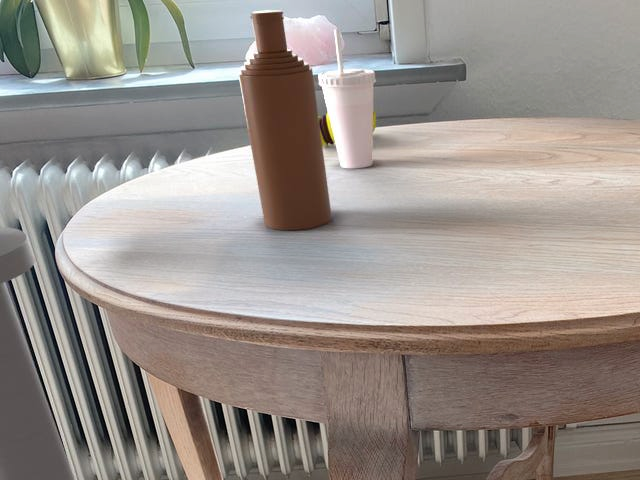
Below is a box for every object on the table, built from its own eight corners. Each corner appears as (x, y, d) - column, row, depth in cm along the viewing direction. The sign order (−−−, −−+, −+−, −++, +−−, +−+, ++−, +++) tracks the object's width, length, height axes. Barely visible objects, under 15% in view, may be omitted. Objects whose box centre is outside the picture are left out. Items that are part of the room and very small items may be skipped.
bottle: (262, 233, 82) (224, 17, 72) (266, 214, 87) (231, 10, 77) (331, 227, 82) (303, 12, 73) (332, 209, 88) (305, 6, 78)
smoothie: (321, 163, 105) (303, 29, 97) (371, 156, 107) (358, 24, 99) (340, 174, 100) (323, 33, 92) (392, 165, 102) (380, 28, 94)
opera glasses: (345, 139, 120) (334, 100, 117) (381, 131, 118) (370, 91, 115) (319, 155, 112) (306, 114, 109) (356, 147, 110) (344, 104, 108)
